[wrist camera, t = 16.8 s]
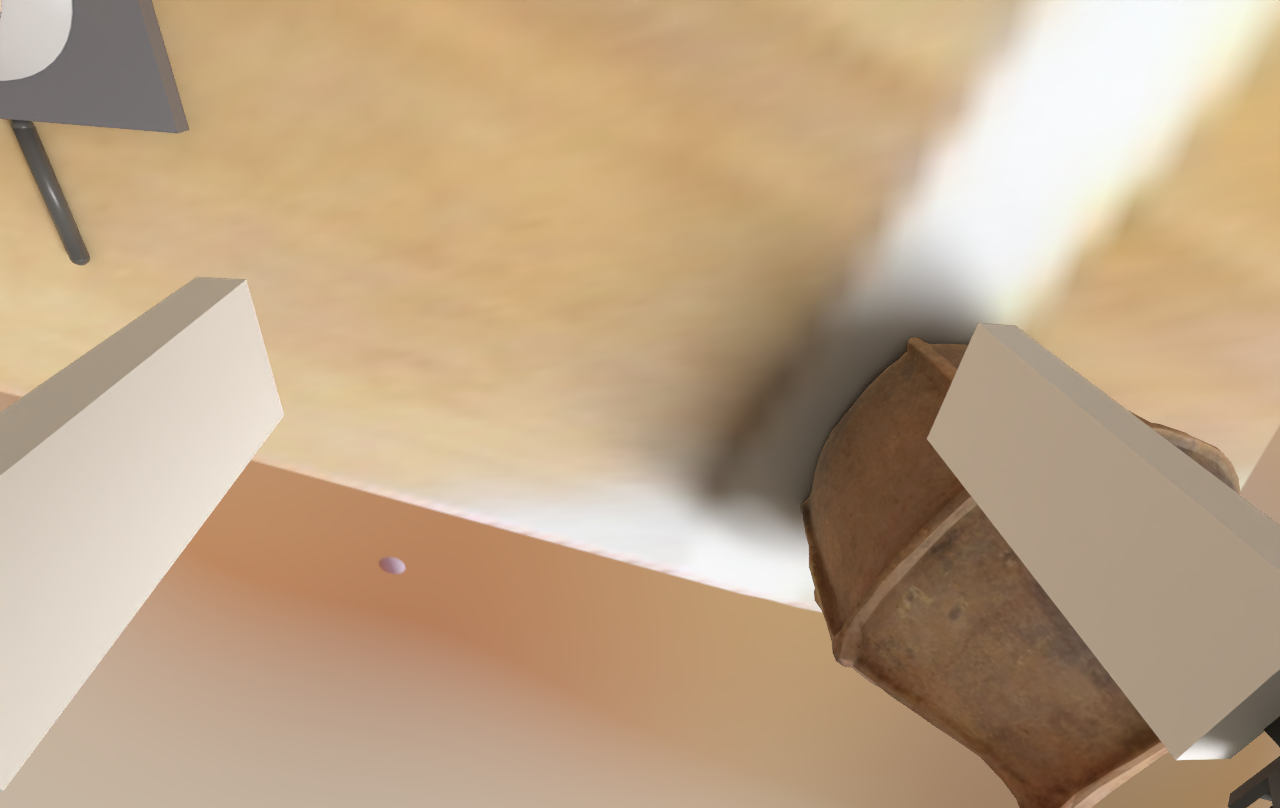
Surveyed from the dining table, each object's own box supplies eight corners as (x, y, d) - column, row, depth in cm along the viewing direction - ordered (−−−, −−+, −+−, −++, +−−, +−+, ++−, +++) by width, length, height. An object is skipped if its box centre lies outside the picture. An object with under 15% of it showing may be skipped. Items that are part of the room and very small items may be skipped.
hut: (748, 521, 58) (866, 905, 34) (911, 273, 45) (1307, 604, 20) (936, 567, 64) (1155, 924, 39) (1129, 360, 51) (1646, 700, 26)
